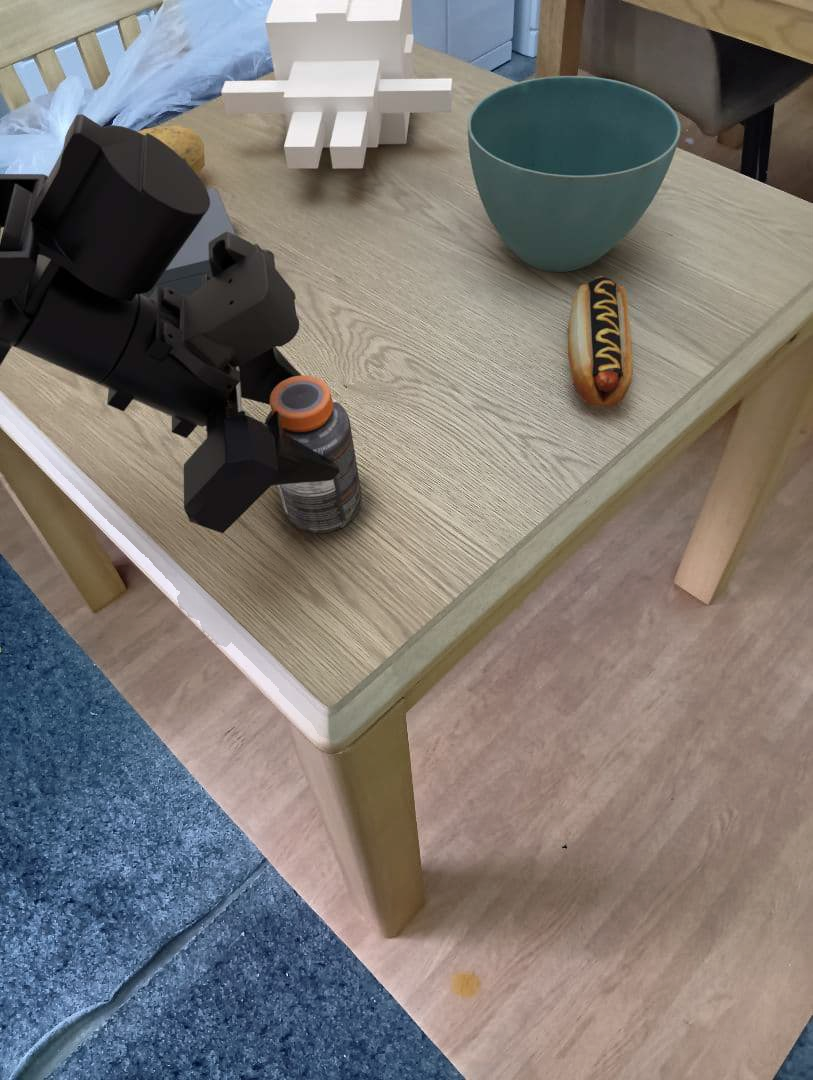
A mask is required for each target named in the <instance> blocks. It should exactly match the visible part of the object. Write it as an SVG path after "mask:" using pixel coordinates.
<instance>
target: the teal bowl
mask: <svg viewBox="0 0 813 1080" xmlns="http://www.w3.org/2000/svg"><path fill="white" fill-rule="evenodd" d="M681 129H682V128H681V121H680V118H679V116H678V115H677V113H676V112H675V110H674V109H673V108H672V107H671V106H670V105H669V104H668V103H667V102H666V101H665V100H663V99H662V98H660V97H659V96H658V95H656V94H655V93H652V92H651V91H648V90H647V89H644V88H641V87H639V86H636V85H633V84H631V83H627V82H623V81H619V80H615V79H609V78H604V77H596V76H584V75H556V76H555V75H554V76H546V77H544V76H543V77H537V78H531V79H526V80H522V81H518V82H516V83H511V84H509V85H506V86H504V87H501V88H499V89H497V90H495V91H493V92H491V93H489V94H488V95H486V96H484V98H482V99H481V100H480V101H478V103H476V105H475V106H474V107H473V108H472V110H471V111H470V114H469V116H468V119H467V143H468V151H469V159H470V160H469V161H470V165H471V169H472V174H473V179H474V182H475V186H476V189H477V193H478V195H479V198H480V200H481V203H482V206H483V208H484V210H485V213H486V215H487V217H488V219H489V220H490V223H491V224H492V226H493V228H494V229H495V231H496V233H497V234H498V235H499V236H500V238H501V239H502V240H503V241H504V243H505V244H506V246H507V247H508V248H509V249H510V250H511V251H512V252H513V253H514V255H515V256H517V258H519V259H520V260H521V261H522V262H523V263H525V264H527V265H529V266H531V267H533V268H535V269H538V270H541V271H542V270H543V271H547V272H554V273H555V272H556V273H561V272H562V273H565V272H571V271H572V272H573V271H577V270H581V269H583V268H586V267H587V266H589V265H592V264H593V263H595V262H597V260H599V259H600V258H602V257H603V256H604V255H606V254H607V253H608V252H609V251H610V250H611V249H613V248H614V247H616V245H618V244H619V243H620V242H621V241H622V240H623V239H624V238H625V237H626V236H627V235H628V234H629V233H630V232H631V231H632V230H633V228H634V227H635V226H636V225H637V223H639V221H640V219H641V218H642V217H643V215H644V214H645V213H646V212H647V209H648V208H649V207H650V205H651V203H652V202H653V200H654V199H655V197H656V195H657V193H658V192H659V190H660V188H661V186H662V184H663V183H664V180H665V177H666V175H667V173H668V171H669V168H670V166H671V164H672V162H673V159H674V156H675V153H676V150H677V147H678V144H679V140H680V135H681V131H682V130H681Z"/></svg>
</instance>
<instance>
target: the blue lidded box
mask: <svg viewBox="0 0 813 1080" xmlns="http://www.w3.org/2000/svg"><path fill="white" fill-rule="evenodd" d="M207 192H208V195H209V198H210V206H209V209H208V211H207V212H206V214H205V215H204V216H203V218H202V219H201V221H200V222H199V223H198V225H197V226H196V228H195V229H194V231H193V232H192V233H191V235H190V236H189V238H188V239H187V240H186V242H185V243H184V245H183V246H182V248H181V249H180V250H179V252H178V253H177V255H176V256H175V257H174V259H173V260H172V262H171V263H170V265H169V266H168V267H167V269H166V270H165V272H164V273H163V274H162V276H161V277H160V279H159V280H158V282H157V283H156V284H155V286H154V287H153V288H152V289H151V290H150V291H148V292H147V293H142V295H144V296H146V297H148V298H150V296H151V295H152V294H153V292H154V291H155V289H156V288H157V287H158V286H159V287H160V288H162V289H165V288H171V289H173V290H175V291H176V292H178V293H180V294H183V295H186V296H190V295H191V294H193V293H194V292H195V291H197V290H198V289H200V288H201V286H202V277H203V276H205V275H208V276H209V278H210V279H211V278H212V271H211V267H210V263H209V250H208V244H209V242H210V241H212V240H213V239H215V238H217V237H218V236H220V235H221V234H223V233H224V232H230V233H232V234H234V235H236V236H237V234H236V231H235V229H234V226H233V225H232V222H231V220H230V217H229V214H228V212H227V209H226V207H225V205H224V202H223V200H222V196H221V194H220V193H219V189H218V188H217V187H215V188H210V189H207Z"/></svg>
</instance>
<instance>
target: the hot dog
mask: <svg viewBox="0 0 813 1080" xmlns="http://www.w3.org/2000/svg"><path fill="white" fill-rule="evenodd" d="M627 297H628V296H627V292H626V288H625V286H623V285H620V284H618V283H616V282H615V281H614V280H613V279H611V278H609V277H607V276H604V275H601V276H598V277H595V278H594V279H593V280H591V281H589V282H587V283H585V284H581V285H580V286H579V287H578V289H577V290H576V292H575V294H574V296H573V297H572V299H571V308H570V312H569V313H570V315H569V320H568V326H567V359H568V363H569V368H570V373H571V378H572V382H573V386H574V390H575V392H576V393H577V394H578V395H579V396H580V397H581V399H582V400H583V401H584V402H585V404H586V405H589V406H592V407H597V408H610V407H616V406H618V405H619V404H620V403H621V402H622V401H623V400H624V398H625V397H626V394H627V393H628V390H629V388H630V386H631V384H632V380H633V349H632V346H633V345H632V338H631V326H630V316H629V306H628V298H627Z"/></svg>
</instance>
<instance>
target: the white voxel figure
mask: <svg viewBox="0 0 813 1080" xmlns="http://www.w3.org/2000/svg"><path fill="white" fill-rule="evenodd" d="M264 25H265V31H266V35H267V36H266V37H267V40H268V45H269V51H270V57H271V62H272V68H273V73H274V77H275V80H224V84H223V86H222V89H221V92H220V93H221V97H222V102H223V106H224V110H225V114H226V115H266V114H267V115H270V114H271V115H272V114H273V115H274V114H275V115H277V114H280V115H281V114H282V121H283V126H284V131H285V141H284V144H283V150H284V155H285V160H286V166H287V169H318V168H319V165H320V160H321V156H322V153H323V152H322V151H323V148H329V151H330V152H329V153H330V159H331V166H332V169H363V168H364V164H365V159H366V158H365V157H366V152H367V148H378V146H379V145H407V137H408V133H409V132H408V131H409V125H410V116H411V113H412V114H413V113H452V108H453V107H452V106H453V78H452V77H451V78H450V77H448V78H415V75H416V60H415V59H416V58H415V57H416V56H415V35H414V32H413V31H414V30H413V9H412V0H272V1H271V4H270V7H269V9H268V13H267V16H266V19H265V21H264Z"/></svg>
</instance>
